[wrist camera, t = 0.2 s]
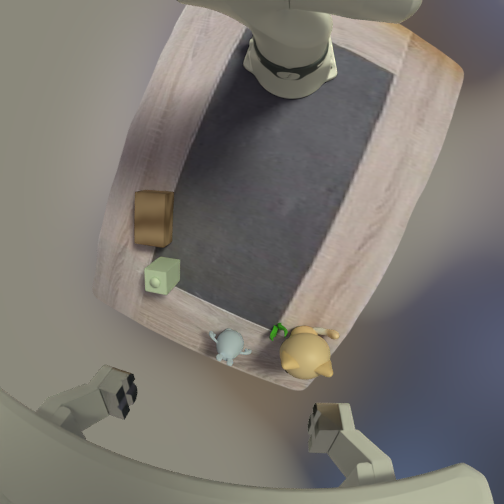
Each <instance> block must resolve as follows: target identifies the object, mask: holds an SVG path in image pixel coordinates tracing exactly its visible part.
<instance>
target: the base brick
mask: <svg viewBox="0 0 504 504" xmlns="http://www.w3.org/2000/svg"><path fill="white" fill-rule="evenodd" d="M173 203H174V192H168V191H155V190H143V191H138V192H135V218H134V236H135V243H136V244H142V245H149V246H156V247H163V248H164V247H165V246H166V245H168V244H169V243H171V242H172V225H173Z"/></svg>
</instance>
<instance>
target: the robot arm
mask: <svg viewBox="0 0 504 504" xmlns="http://www.w3.org/2000/svg"><path fill="white" fill-rule="evenodd" d="M177 1H178V2H180V3H182V4H186V5H193V6H199V7H203V8H207V9H211V10H214V11H217V12H220V13H222V14H225V15H227V16H229V17H231V18H233V19H235V20H237V21H238V22H240V23H242V24H243V25H245V26H246V27H248V28H249V29H250V30H251V31H252V33H253V38H252V39H250V42H249V45H250V46H249V48H248V51H247V54H246V56H245V59H244V62H243V65H244V67H245V69H247V70H248V71H249V72H251V73H253V74H254V75H255V77H256V78H257V80H258V81H259V83H260V84H261V85H262V86H263V87H264V88H265V89H266V90H267V91H269V92H270V93H272V94H274V95H276V96H279V97H283V98H290V99H294V98H302V97H305V96H308V95H310V94H312V93H313V92H315V91H316V90H317V89H318V88H319V87H320V86H321V85H322V84H323V83H325V82H327V81H329V80H332V79H334V78H335V77H336V76H337V69H336V63H335V58H334V52H333V47H332V42H331V37H330V34H331V32H332V26H333V23H332V18H331V15H330V14H332V15H337V16H342V17H347V18H351V19H358V20H368V21H377V22H387V23H395V24H397V23H400V22H403V21H405V20H406V19H408V18H409V17H411V16H412V15H413V14H414V13H415V12H416V11H417V10H418V8H419V7H420V5H421V3H422V0H177ZM331 67H332V69H331ZM134 380H135V378H134V374H132V373H129V372H126V371H123V370H120V369H117V368H114V367H111V366H108V365H104V366H102V367H101V369H100V370H99V371H98V372H97V373H96V375H95V376H94V377H93V379H92V380H91V381H90V382H89V384H88V385H87V384H83V385H81V386H78V387H75V388H72V389H70V390H67V391H64V392H62V393H59V394H56V395H53V396H50V397H48V398H47V399H46V400H45V402H44V403H43V404H42V405H41V406H40V407H39V409H38V410H37V411H36V412H34V411H33V410H31V409H30V408H28V407H27V406H25V405H24V404H22V403H21V402H19V401H18V400H17V399H15V398H14V397H12V396H11V395H10V394H8V393H7V392H6V391H4V390H3V389H2V388H0V504H494V503H493V499H492V495H491V492H490V489H489V485H488V483H487V481H486V479H485V477H484V476H483V475H482V474H481V473H480V472H478V471H477V470H475V469H473V468H472V467H470V466H468V465H466V464H465V463H459V464H455V465H452V466H449V467H446V468H442V469H439V470H436V471H432V472H429V473H425V474H421V475H417V476H412V477H408V478H404V479H399V480H396V478H395V475H394V470H393V466H392V462H391V459H390V458H389V457H388V456H387V455H385V454H384V453H383V452H382V451H381V450H380V449H379V448H378V447H377V446H375V445H374V444H373V443H372V442H371V441H370V440H369V439H368V438H366V437H365V436H364V435H363V434H362V433H361V432H360V431H359V430H355V426H354V422H353V418H352V413H351V408H350V405H349V403H315V404H314V407H313V413H312V414H311V415H310V418H309V422H308V434H309V435H310V439H309V441H308V443H309V452H311V453H328V455H329V456H330V458H331V459H332V460H333V461H334V463H335V464H336V465H337V467H338V468H339V469H340V471H341V472H342V473H343V474H344V476H345V477H346V480H345V481H344V482H343V483H342V484H341V485H340V486H339V487H338V488H319V489H290V488H269V487H256V486H246V485H239V484H232V483H224V482H219V481H213V480H208V479H203V478H197V477H193V476H189V475H184V474H180V473H177V472H173V471H169V470H165V469H162V468H158V467H155V466H152V465H149V464H145V463H142V462H139V461H137V460H134V459H131V458H128V457H125V456H122V455H120V454H117V453H115V452H112V451H110V450H108V449H105V448H103V447H101V446H98V445H96V444H94V443H92V442H89V441H87V440H86V438H85V436H84V435H83V433H82V431H83V430H85V429H87V428H88V427H90V426H92V425H93V424H95V423H97V422H99V421H100V420H102V419H104V418H105V417H107V416H109V415H112V416H115V417H118V418H121V419H125V418H126V416H127V415H128V413H129V411H130V409H129V406H130V405H132V404H134V402H135V400H136V397H137V386H136V385H135V384H134V383H133V382H134Z"/></svg>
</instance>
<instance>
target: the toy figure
mask: <svg viewBox="0 0 504 504" xmlns="http://www.w3.org/2000/svg"><path fill="white" fill-rule="evenodd" d="M209 336H210V337H211V338H212V339H213V340H214V341H215V342H216V347H217V352H218V355H217V356H216V359H217V360H218V361H221V360H224V361H227V365H229V366H232V364H233V360H232V359H234V358H235V357H237V356H238V355H239V354H243V355H248V354H250V353H251V352H252V351H251V349H248V350H247V348H246V349H245V352H241V351H242V349H243V346H244V341H243V338H242V336H241V334H240V333H238V332H237V331H234V330H231V329H229V328H227V329H226V330H225V331H223V332H222V333H221V334H220V335H219V336H218V338H217V340H216V339H215V336H216V334H214V333H213V331H210V332H209Z"/></svg>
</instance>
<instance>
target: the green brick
mask: <svg viewBox="0 0 504 504" xmlns="http://www.w3.org/2000/svg"><path fill="white" fill-rule="evenodd" d="M144 272H145V291H149V292H154V293H159V294H164V295H167V294H168V293H169V292H170V291H171V290H172V289H173V287H174V286H175V285H176V284H177V283H178V282H179V281H180V260H178V259H171V258H165V257H159V258H158V259H156V260H155V261H154V262H153V263H151V264H150V265H149V266H147V267H146V268H145V269H144Z"/></svg>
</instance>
